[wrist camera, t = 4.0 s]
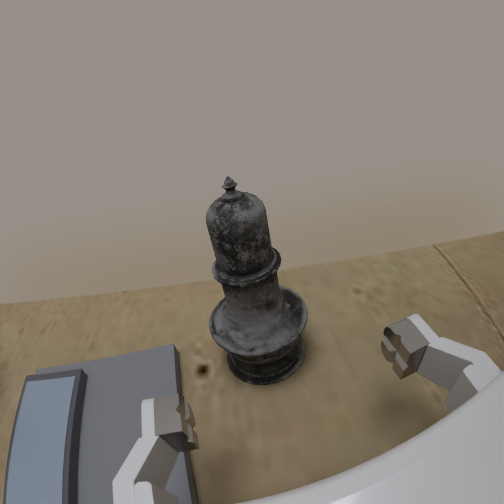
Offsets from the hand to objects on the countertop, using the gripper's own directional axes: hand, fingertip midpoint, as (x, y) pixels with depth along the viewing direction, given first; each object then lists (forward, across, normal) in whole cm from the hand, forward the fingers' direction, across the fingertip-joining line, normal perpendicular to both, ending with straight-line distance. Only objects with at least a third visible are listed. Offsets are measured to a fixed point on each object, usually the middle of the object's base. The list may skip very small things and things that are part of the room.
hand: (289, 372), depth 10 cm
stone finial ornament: (+6, 0, +7) cm, 9 cm away
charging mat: (+2, +13, +6) cm, 14 cm away
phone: (0, +16, +5) cm, 17 cm away
